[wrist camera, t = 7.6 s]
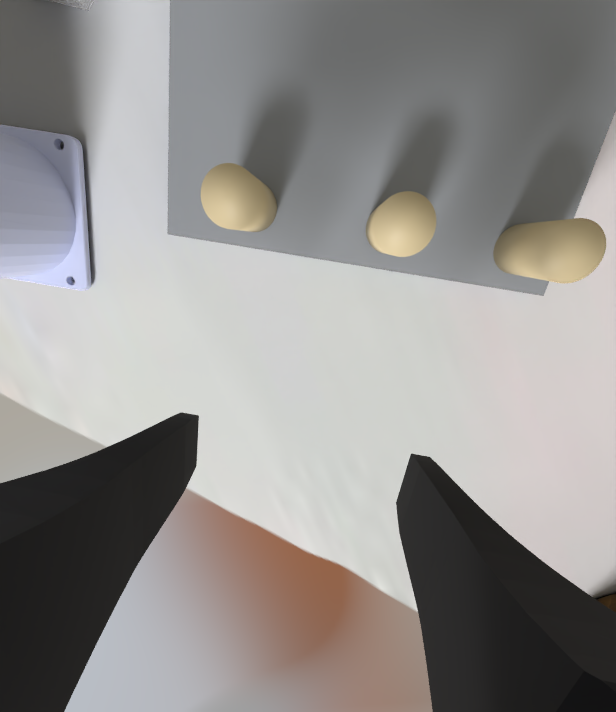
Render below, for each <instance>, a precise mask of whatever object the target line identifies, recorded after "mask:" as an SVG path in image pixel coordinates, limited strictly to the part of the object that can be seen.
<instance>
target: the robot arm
mask: <svg viewBox="0 0 616 712" xmlns="http://www.w3.org/2000/svg"><path fill="white" fill-rule="evenodd" d="M62 141H63V143H64V148H63V149H61V147H60V143H61V142H62ZM72 277H73V278H74V280H75V284H74V283H73V282H72V280H71V278H72ZM1 278H9V279H15V280H21V281H27V282H32V283H38V284H44V285H50V286H56V287H62V288H68V289H74V290H79V291H83V290H87V289H89V288H90V287H91V271H90V256H89V240H88V225H87V209H86V194H85V179H84V163H83V149H82V145H81V143H80V141H79V140H78V139H77V138H75V137H72V136H69V135H65V134H58V133H52V132H46V131H39V130H33V129H27V128H20V127H14V126H7V125H1V124H0V279H1ZM198 420H199V416H198V415H192V414H187V413H179V414H176V415H174V416H172V417H170V418H168V419H166V420H164V421H162V422H160V423H158V424H156V425H154V426H152V427H150V428H148V429H146V430H144V431H142V432H140V433H137V434H135V435H133V436H131V437H129V438H127V439H125V440H123V441H120V442H118V443H116V444H113V445H111V446H109V447H107V448H105V449H102V450H100V451H98V452H96V453H93V454H90V455H88V456H85V457H83V458H80V459H77V460H74V461H72V462H69V463H66V464H63V465H60V466H58V467H54V468H51V469H48V470H46V471H42V472H38V473H35V474H32V475H28V476H25V477H21V478H18V479H15V480H11V481H7V482H4V483H0V712H64V711H65V709H66V706H67V704H68V702H69V700H70V698H71V695H72V693H73V691H74V689H75V687H76V685H77V683H78V681H79V679H80V677H81V675H82V673H83V670H84V668H85V666H86V664H87V662H88V660H89V658H90V656H91V654H92V652H93V650H94V648H95V645H96V643H97V641H98V640H99V637H100V636H101V634H102V632H103V630H104V628H105V626H106V623H107V622H108V620H109V617H110V616H111V614H112V612H113V610H114V608H115V606H116V604H117V602H118V600H119V598H120V596H121V594H122V592H123V591H124V589H125V587H126V585H127V583H128V581H129V579H130V577H131V575H132V573H133V571H134V570H135V568H136V566H137V565H138V563H139V561H140V560H141V558H142V556H143V555H144V553H145V552H146V550H147V548H148V547H149V545H150V544H151V542H152V541H153V539H154V538H155V536H156V535H157V533H158V532H159V530H160V528H161V527H162V525H163V524H164V522H165V521H166V519H167V518H168V516H169V514H170V513H171V511H172V510H173V508H174V507H175V505H176V504H177V502H178V500H179V499H180V497H181V496H182V494H183V492H184V491H185V489H186V487H187V484H188V482H189V480H190V478H191V476H192V474H193V472H194V470H195V468H196V461H197V440H198ZM396 505H397V515H398V524H399V532H400V537H401V541H402V546H403V550H404V554H405V558H406V563H407V567H408V571H409V575H410V579H411V583H412V587H413V591H414V596H415V600H416V604H417V608H418V613H419V618H420V623H421V629H422V636H423V642H424V649H425V655H426V662H427V670H428V677H429V685H430V693H431V700H432V709H433V712H616V612H614V611H612V610H611V609H609V608H608V607H606V606H605V605H603V604H602V603H600V602H599V601H597V600H596V599H594V598H593V597H591V596H590V595H588V594H587V593H585V592H584V591H583V590H581V589H580V588H578V587H577V586H576V585H574V584H573V583H571V582H570V581H569V580H567V579H566V578H564V577H563V576H562V575H560V574H559V573H557V572H556V571H555V570H553V569H552V568H551V567H549V566H548V565H547V564H545V563H544V562H543V561H541V560H540V559H539V558H538V557H536V556H535V555H534V554H533V553H531V552H530V551H529V550H528V549H526V548H525V547H524V546H523V545H522V544H520V543H519V542H518V541H517V540H515V539H514V538H513V537H512V536H511V535H510V534H508V533H507V532H506V531H505V530H504V529H503V528H502V527H501V526H499V525H498V524H497V523H496V522H495V521H494V520H493V519H492V518H491V517H490V516H488V515H487V514H486V513H485V512H484V511H483V510H482V509H481V508H480V507H479V506H478V505H477V504H476V503H475V502H474V501H473V500H472V499H471V498H470V497H469V496H468V495H467V494H466V493H465V492H464V491H463V490H462V489H461V488H460V487H459V486H458V485H457V484H456V483H455V482H454V481H453V480H452V479H451V478H450V477H449V476H448V475H447V474H446V473H445V472H444V471H443V469H442V468H441V467H440V466H439V465H438V464H437V463H436V462H434V461H433V460H432V459H431V458H430V457H427V456H421V455H416V454H411V456H410V459H409V462H408V466H407V469H406V472H405V476H404V479H403V482H402V485H401V489H400V492H399V495H398V499H397V502H396Z"/></svg>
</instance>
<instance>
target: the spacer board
mask: <svg viewBox="0 0 616 712" xmlns="http://www.w3.org/2000/svg"><path fill="white" fill-rule="evenodd" d="M615 111H616V0H170V57H169V152H168V234H170V235H176V236H182V237H188V238H194V239H200V240H206V241H212V242H218V243H224V244H231V245H237V246H243V247H249V248H255V249H261V250H267V251H273V252H279V253H285V254H292V255H298V256H304V257H310V258H316V259H322V260H328V261H334V262H340V263H346V264H352V265H359V266H365V267H371V268H377V269H383V270H389V271H395V272H401V273H407V274H413V275H420V276H426V277H432V278H438V279H444V280H450V281H456V282H462V283H468V284H474V285H480V286H487V287H493V288H499V289H505V290H511V291H517V292H523V293H529V294H535V295H541V296H544V293H545V290H546V288H547V285H548V283H549V281H551V282H557V283H572V282H576V281H578V280H581V279H583V278H585V277H586V276H588V275H589V274H590V273H592V272H593V271H594V270H595V269H596V267H597V266H598V265H599V263H600V262H601V260H602V258H603V256H604V253H605V249H606V238H605V234H604V232H603V230H602V228H601V227H600V226H599V225H598V224H597V223H595V222H594V221H591V220H589V219H583V218H576V219H574V216H575V213H576V211H577V208H578V206H579V203H580V201H581V198H582V195H583V193H584V190H585V188H586V185H587V183H588V180H589V177H590V175H591V172H592V170H593V167H594V165H595V162H596V160H597V157H598V154H599V152H600V149H601V147H602V144H603V142H604V139H605V136H606V134H607V131H608V129H609V126H610V124H611V121H612V118H613V116H614V113H615Z"/></svg>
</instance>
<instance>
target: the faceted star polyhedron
mask: <svg viewBox="0 0 616 712" xmlns="http://www.w3.org/2000/svg"><path fill="white" fill-rule="evenodd" d="M49 1H53V2H56V3H60V4H64V5H68V6H71V7H75V8H79V9H83V10H86V11H89V10H90V8H91V6H92V4H93V2H94V1H95V0H49Z"/></svg>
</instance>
